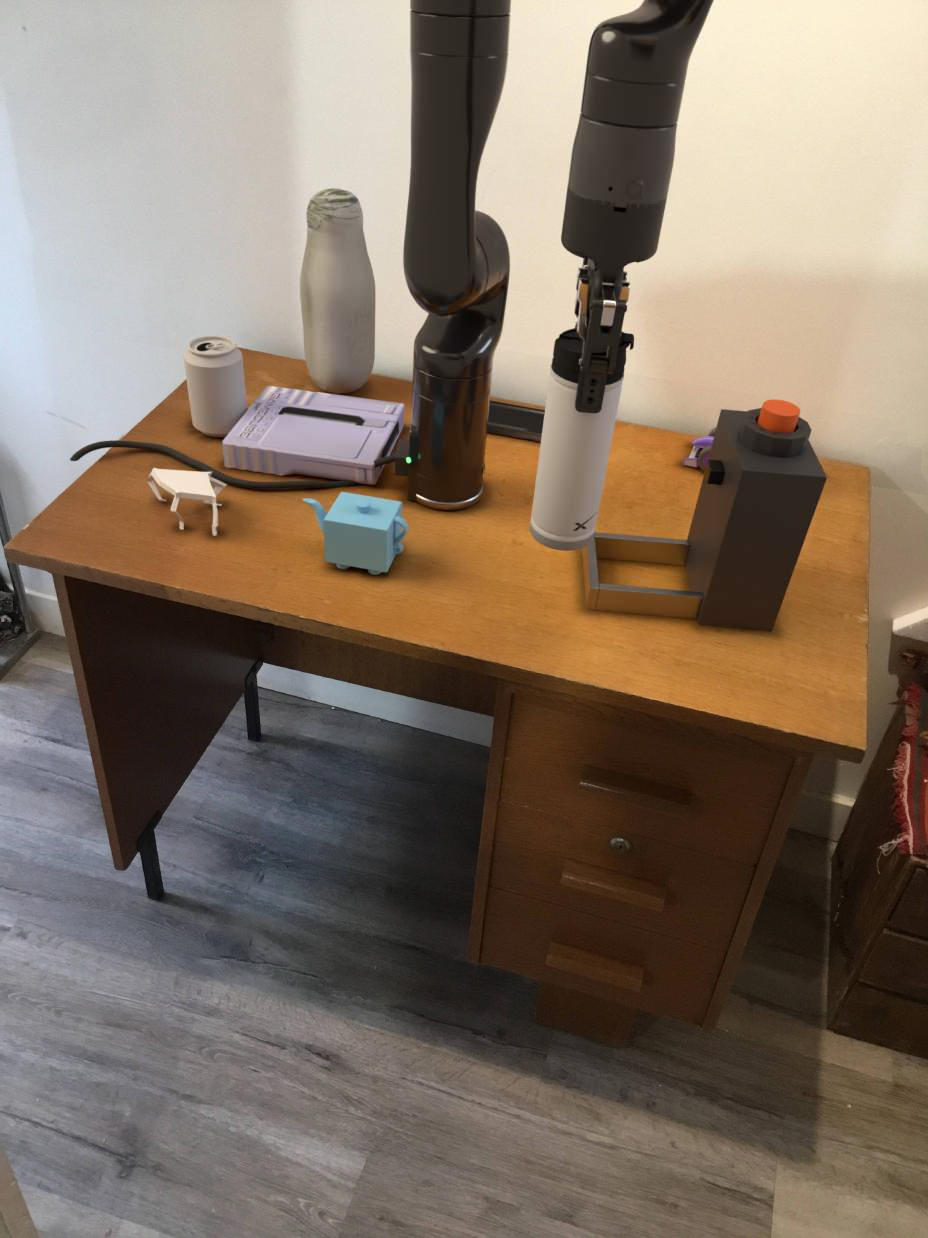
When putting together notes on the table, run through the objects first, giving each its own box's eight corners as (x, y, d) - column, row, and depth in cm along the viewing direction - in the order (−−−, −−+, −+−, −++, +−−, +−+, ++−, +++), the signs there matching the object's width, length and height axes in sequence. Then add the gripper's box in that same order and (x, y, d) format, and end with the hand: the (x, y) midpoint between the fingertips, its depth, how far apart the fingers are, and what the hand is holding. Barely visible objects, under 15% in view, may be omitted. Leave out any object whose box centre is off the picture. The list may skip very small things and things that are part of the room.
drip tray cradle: (586, 609, 99) (610, 483, 89) (581, 552, 107) (603, 430, 97) (696, 619, 99) (732, 493, 89) (683, 561, 107) (715, 440, 97)
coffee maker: (697, 625, 98) (748, 450, 85) (682, 556, 108) (725, 390, 95) (772, 631, 98) (834, 458, 85) (749, 562, 108) (802, 397, 95)
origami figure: (251, 507, 110) (247, 471, 107) (215, 543, 104) (211, 506, 101) (163, 486, 113) (157, 450, 110) (123, 520, 106) (116, 483, 103)
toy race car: (693, 440, 131) (704, 399, 127) (799, 465, 127) (813, 423, 123) (680, 470, 124) (690, 426, 120) (791, 497, 120) (806, 453, 116)
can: (204, 411, 129) (194, 328, 121) (256, 418, 128) (248, 335, 121) (184, 436, 123) (172, 350, 115) (238, 442, 122) (229, 357, 115)
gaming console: (266, 384, 129) (405, 401, 127) (268, 408, 131) (404, 426, 129) (219, 443, 115) (374, 463, 113) (222, 469, 117) (374, 489, 115)
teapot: (296, 563, 102) (292, 505, 97) (314, 534, 107) (311, 478, 102) (399, 581, 100) (401, 524, 96) (413, 551, 105) (415, 495, 100)
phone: (475, 397, 135) (575, 415, 132) (475, 404, 136) (573, 422, 133) (461, 420, 129) (565, 439, 126) (460, 427, 130) (564, 446, 127)
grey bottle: (336, 369, 142) (331, 175, 125) (387, 388, 138) (389, 191, 121) (292, 389, 136) (280, 188, 118) (344, 410, 132) (339, 204, 114)
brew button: (761, 433, 88) (766, 413, 87) (754, 416, 91) (759, 397, 90) (798, 436, 88) (804, 417, 87) (789, 419, 91) (795, 400, 90)
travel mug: (594, 557, 85) (633, 352, 72) (524, 546, 86) (551, 340, 73) (599, 522, 90) (637, 324, 77) (534, 511, 91) (560, 313, 78)
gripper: (565, 158, 74) (541, 356, 84) (571, 207, 63) (543, 428, 73) (657, 166, 74) (621, 362, 84) (680, 216, 63) (636, 435, 73)
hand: (585, 392), depth 79 cm, fingers closed on travel mug, 6 cm apart
